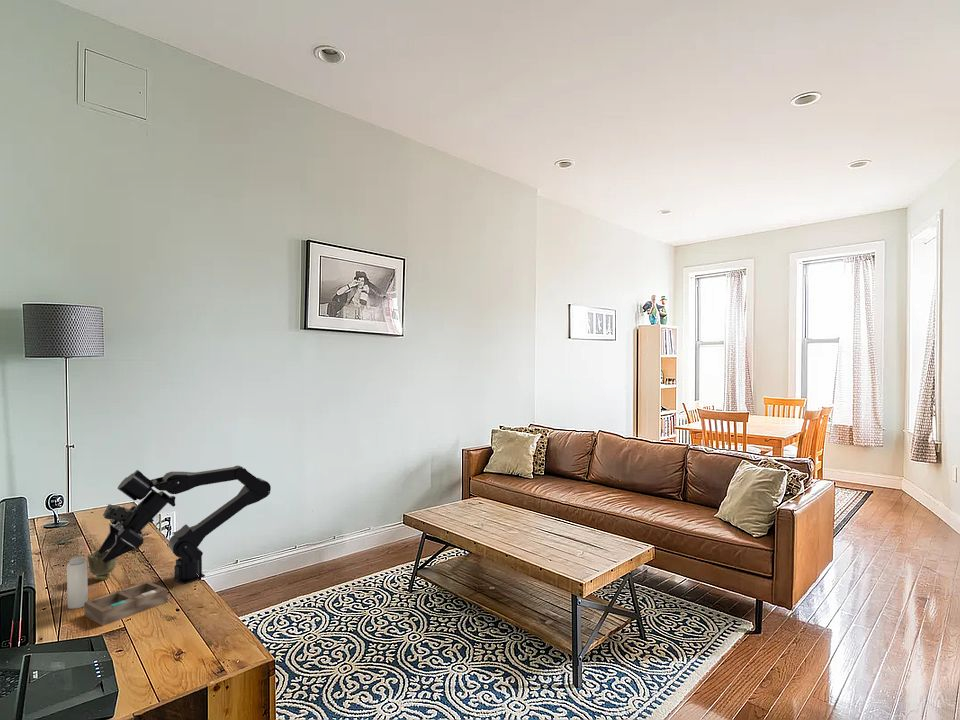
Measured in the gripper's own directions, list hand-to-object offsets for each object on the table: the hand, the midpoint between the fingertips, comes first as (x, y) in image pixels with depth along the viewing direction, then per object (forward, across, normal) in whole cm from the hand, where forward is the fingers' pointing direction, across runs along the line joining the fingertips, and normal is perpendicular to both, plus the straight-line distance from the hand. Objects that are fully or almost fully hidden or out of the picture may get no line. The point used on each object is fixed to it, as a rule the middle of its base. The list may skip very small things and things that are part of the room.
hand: (101, 557), depth 153 cm
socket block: (+5, +11, +11) cm, 16 cm away
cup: (+7, -17, +10) cm, 21 cm away
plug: (+12, 0, +4) cm, 13 cm away
